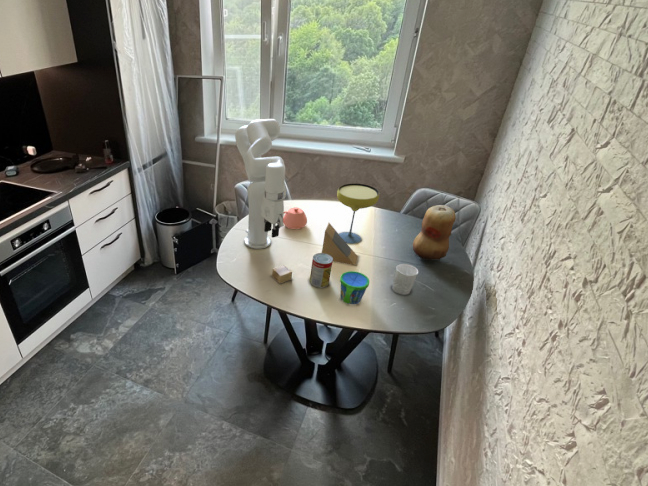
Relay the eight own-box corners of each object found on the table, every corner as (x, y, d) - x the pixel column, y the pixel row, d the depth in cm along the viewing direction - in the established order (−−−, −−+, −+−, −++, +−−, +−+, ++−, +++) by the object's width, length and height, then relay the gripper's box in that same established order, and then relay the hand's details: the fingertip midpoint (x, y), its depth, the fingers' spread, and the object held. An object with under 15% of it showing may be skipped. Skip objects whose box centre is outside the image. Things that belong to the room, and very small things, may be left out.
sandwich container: (355, 266, 176) (362, 236, 168) (320, 259, 182) (324, 230, 174) (358, 256, 183) (364, 227, 174) (324, 249, 189) (328, 221, 180)
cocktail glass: (371, 233, 199) (382, 186, 185) (365, 251, 186) (377, 202, 172) (334, 226, 206) (341, 181, 192) (326, 243, 193) (334, 195, 179)
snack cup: (355, 315, 150) (360, 294, 144) (329, 304, 156) (333, 283, 150) (371, 294, 160) (376, 274, 154) (345, 285, 166) (349, 264, 160)
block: (271, 276, 173) (272, 268, 171) (283, 272, 175) (283, 264, 173) (279, 283, 169) (280, 275, 166) (291, 279, 171) (292, 271, 168)
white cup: (402, 298, 157) (409, 277, 151) (386, 287, 163) (391, 267, 157) (416, 291, 160) (423, 271, 154) (399, 281, 166) (405, 261, 160)
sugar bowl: (308, 231, 204) (311, 213, 198) (281, 232, 204) (282, 214, 198) (303, 219, 214) (305, 202, 208) (277, 220, 214) (278, 203, 209)
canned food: (331, 279, 169) (335, 256, 162) (325, 289, 164) (329, 265, 157) (313, 274, 173) (316, 251, 166) (306, 284, 167) (310, 260, 161)
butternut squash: (405, 259, 179) (419, 208, 165) (415, 246, 187) (430, 197, 173) (438, 270, 171) (457, 218, 157) (448, 256, 179) (466, 206, 165)
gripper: (254, 188, 164) (253, 227, 175) (278, 204, 152) (275, 245, 162) (269, 185, 167) (267, 223, 177) (294, 200, 154) (290, 240, 164)
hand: (271, 233), depth 169 cm, fingers open, 4 cm apart
